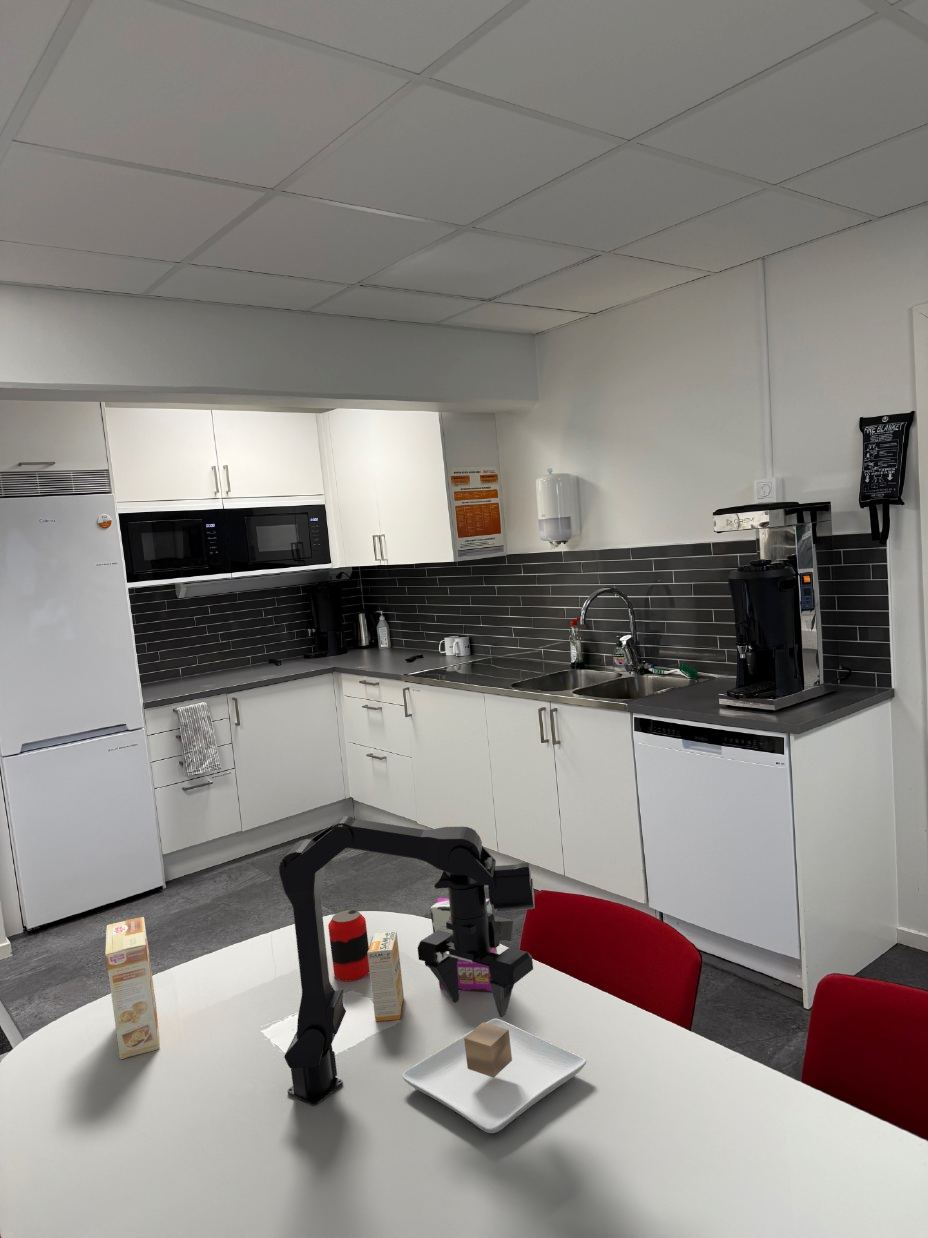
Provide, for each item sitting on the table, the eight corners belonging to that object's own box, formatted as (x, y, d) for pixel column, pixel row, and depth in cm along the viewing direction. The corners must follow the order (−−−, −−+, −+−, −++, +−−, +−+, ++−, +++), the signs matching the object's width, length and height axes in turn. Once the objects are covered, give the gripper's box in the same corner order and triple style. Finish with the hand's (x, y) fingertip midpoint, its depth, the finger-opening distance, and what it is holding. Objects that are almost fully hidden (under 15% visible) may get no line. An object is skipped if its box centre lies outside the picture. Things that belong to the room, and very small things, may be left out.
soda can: (378, 967, 177) (372, 911, 177) (355, 985, 171) (348, 926, 170) (350, 961, 181) (343, 906, 181) (326, 978, 175) (319, 921, 174)
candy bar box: (501, 979, 167) (492, 897, 166) (494, 993, 162) (485, 908, 161) (446, 977, 170) (437, 896, 169) (438, 990, 165) (429, 907, 164)
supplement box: (401, 1020, 156) (393, 950, 155) (374, 1022, 156) (366, 952, 155) (405, 996, 164) (397, 930, 163) (380, 999, 164) (372, 932, 163)
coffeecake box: (161, 1049, 155) (146, 944, 153) (118, 1061, 152) (103, 955, 151) (158, 1011, 169) (144, 915, 167) (119, 1022, 166) (105, 924, 165)
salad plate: (399, 1093, 135) (397, 1072, 135) (497, 1033, 149) (494, 1014, 149) (493, 1154, 119) (490, 1130, 119) (591, 1080, 133) (589, 1059, 133)
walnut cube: (493, 1078, 131) (490, 1046, 131) (467, 1069, 134) (464, 1038, 134) (512, 1060, 135) (508, 1030, 135) (486, 1052, 138) (482, 1022, 138)
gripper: (547, 902, 134) (557, 999, 135) (454, 883, 145) (464, 973, 146) (506, 931, 125) (516, 1034, 126) (410, 908, 137) (421, 1003, 138)
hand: (479, 1008), depth 134 cm, fingers open, 9 cm apart
